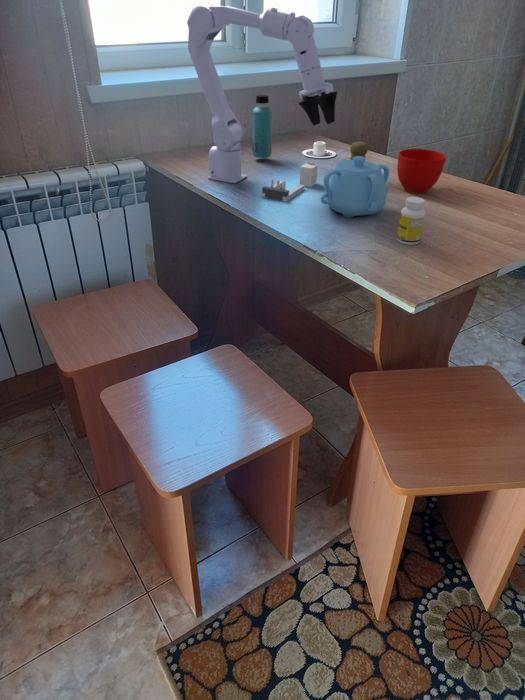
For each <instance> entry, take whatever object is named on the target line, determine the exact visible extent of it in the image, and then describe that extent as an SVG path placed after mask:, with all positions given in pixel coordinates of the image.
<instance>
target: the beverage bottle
mask: <svg viewBox="0 0 525 700" xmlns="http://www.w3.org/2000/svg"><path fill="white" fill-rule="evenodd" d="M269 102H270V101H269V95H267V94H257V95H256V96H255V103H256V104H268V103H269ZM272 113H273V110H272V109H271V108H270V107H269V106H268V105H267V106H266V105H257V106H255V107H254V108H253V109H252V149H251V151H252V156H253V157H254V158H258V159H267V158H270V157H271V156H272V151H273V150H272V149H273V148H272V115H273V114H272Z"/></svg>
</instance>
